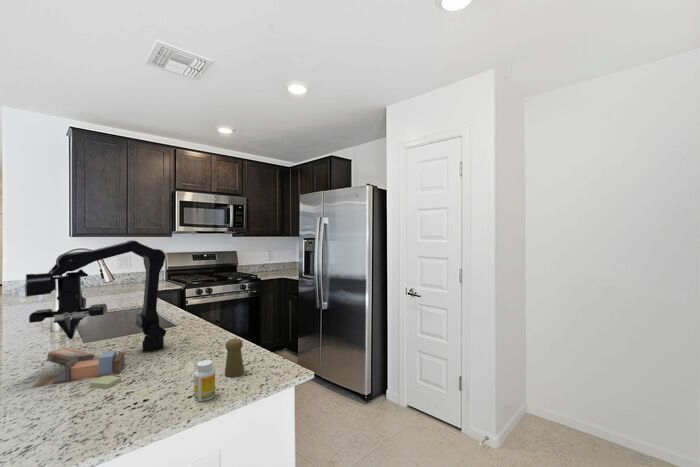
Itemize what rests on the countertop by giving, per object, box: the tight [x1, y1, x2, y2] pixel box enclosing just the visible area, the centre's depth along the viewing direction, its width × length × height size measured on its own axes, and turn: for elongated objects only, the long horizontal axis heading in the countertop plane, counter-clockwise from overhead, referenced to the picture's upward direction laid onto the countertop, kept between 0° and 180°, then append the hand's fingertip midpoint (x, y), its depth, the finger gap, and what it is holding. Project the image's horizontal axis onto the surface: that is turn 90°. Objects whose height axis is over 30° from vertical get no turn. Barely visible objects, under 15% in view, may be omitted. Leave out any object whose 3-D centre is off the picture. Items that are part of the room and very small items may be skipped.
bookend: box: [52, 356, 78, 385], centre depth 101 cm, size 4×8×5 cm, turn 25°
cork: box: [224, 338, 245, 378], centre depth 105 cm, size 6×6×11 cm
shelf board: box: [30, 351, 125, 389], centre depth 103 cm, size 22×8×6 cm, turn 115°
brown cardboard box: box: [71, 358, 99, 380], centre depth 103 cm, size 7×6×4 cm
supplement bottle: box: [193, 359, 216, 402], centre depth 91 cm, size 5×5×10 cm
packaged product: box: [40, 346, 95, 367], centre depth 114 cm, size 18×5×10 cm
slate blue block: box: [98, 349, 118, 376], centre depth 105 cm, size 4×6×6 cm, turn 25°
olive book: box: [89, 375, 122, 390], centre depth 96 cm, size 6×4×3 cm
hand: (71, 338), depth 107 cm, fingers closed
